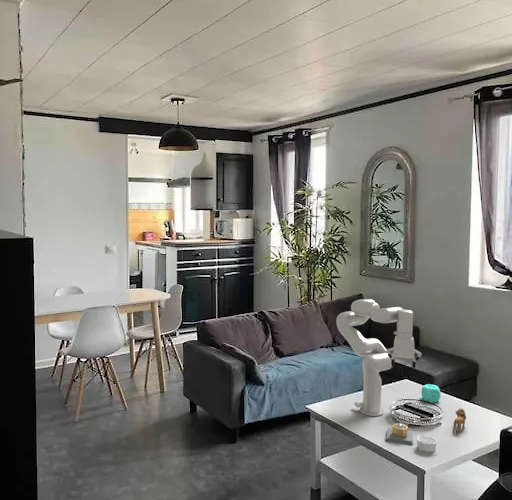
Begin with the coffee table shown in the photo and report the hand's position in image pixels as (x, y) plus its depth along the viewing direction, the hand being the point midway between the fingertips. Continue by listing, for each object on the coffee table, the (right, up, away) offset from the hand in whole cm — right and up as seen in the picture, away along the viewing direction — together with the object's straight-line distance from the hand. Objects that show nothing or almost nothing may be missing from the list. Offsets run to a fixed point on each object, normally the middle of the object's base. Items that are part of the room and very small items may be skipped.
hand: (403, 368), depth 269 cm
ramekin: (+5, -33, -22) cm, 40 cm away
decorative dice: (+27, -28, +40) cm, 56 cm away
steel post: (-5, -30, -11) cm, 32 cm away
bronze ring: (-5, -30, -11) cm, 32 cm away
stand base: (-5, -31, -11) cm, 33 cm away
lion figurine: (+28, -31, 0) cm, 42 cm away
